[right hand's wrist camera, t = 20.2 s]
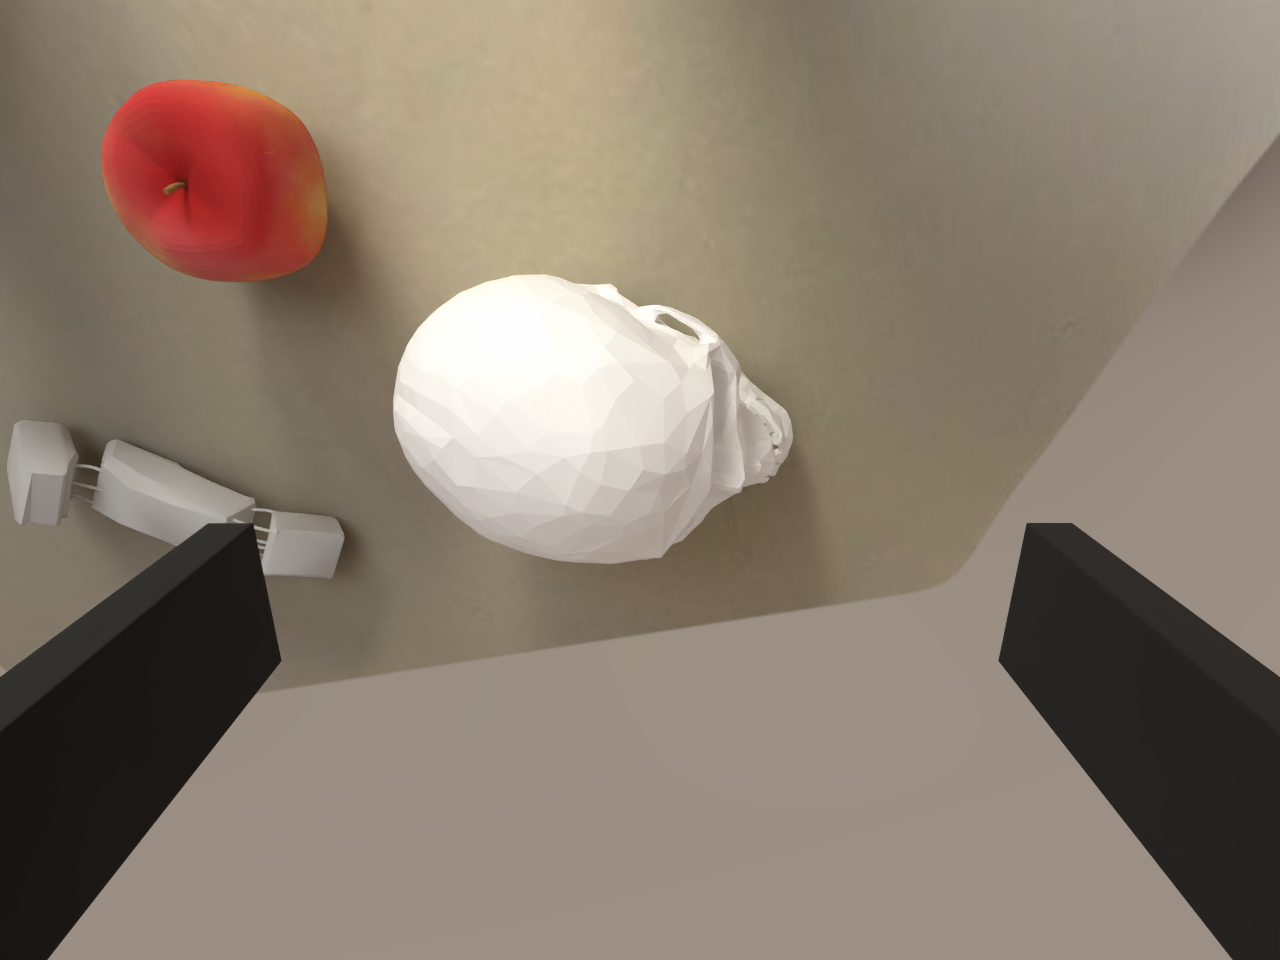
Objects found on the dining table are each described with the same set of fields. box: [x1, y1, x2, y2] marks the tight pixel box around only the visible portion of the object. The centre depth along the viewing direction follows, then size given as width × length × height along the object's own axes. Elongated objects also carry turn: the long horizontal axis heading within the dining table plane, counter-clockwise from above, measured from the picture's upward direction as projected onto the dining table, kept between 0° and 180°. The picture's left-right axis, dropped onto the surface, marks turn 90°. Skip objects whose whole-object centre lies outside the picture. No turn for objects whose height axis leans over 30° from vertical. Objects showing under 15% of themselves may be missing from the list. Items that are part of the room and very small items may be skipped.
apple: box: [101, 80, 327, 282], centre depth 36 cm, size 10×10×10 cm
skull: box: [393, 274, 793, 564], centre depth 38 cm, size 13×22×16 cm, turn 79°
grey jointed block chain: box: [7, 420, 345, 579], centre depth 45 cm, size 20×4×7 cm, turn 67°
